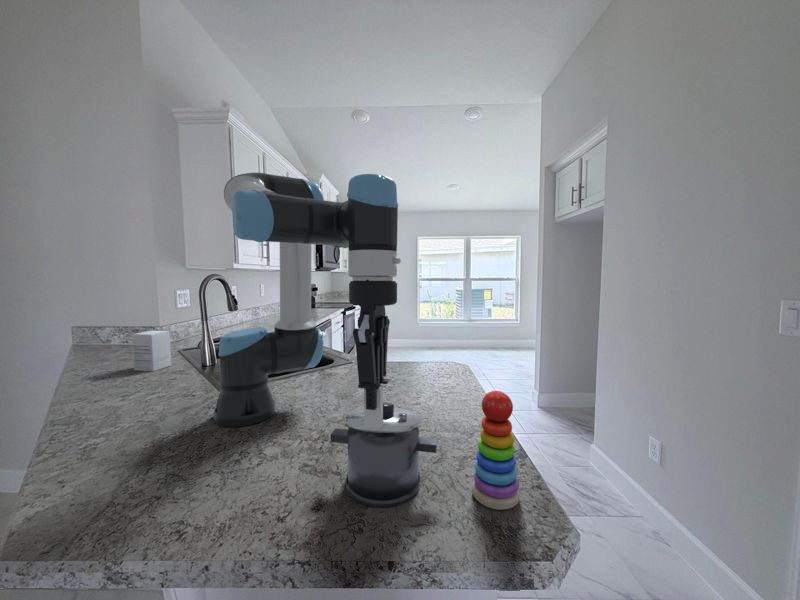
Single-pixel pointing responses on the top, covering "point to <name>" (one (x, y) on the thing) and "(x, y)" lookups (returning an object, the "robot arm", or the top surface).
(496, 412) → the stacking toy
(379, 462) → the pot
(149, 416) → the top surface
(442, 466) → the top surface
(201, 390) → the top surface
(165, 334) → the supplement box
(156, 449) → the top surface
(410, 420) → the lid
